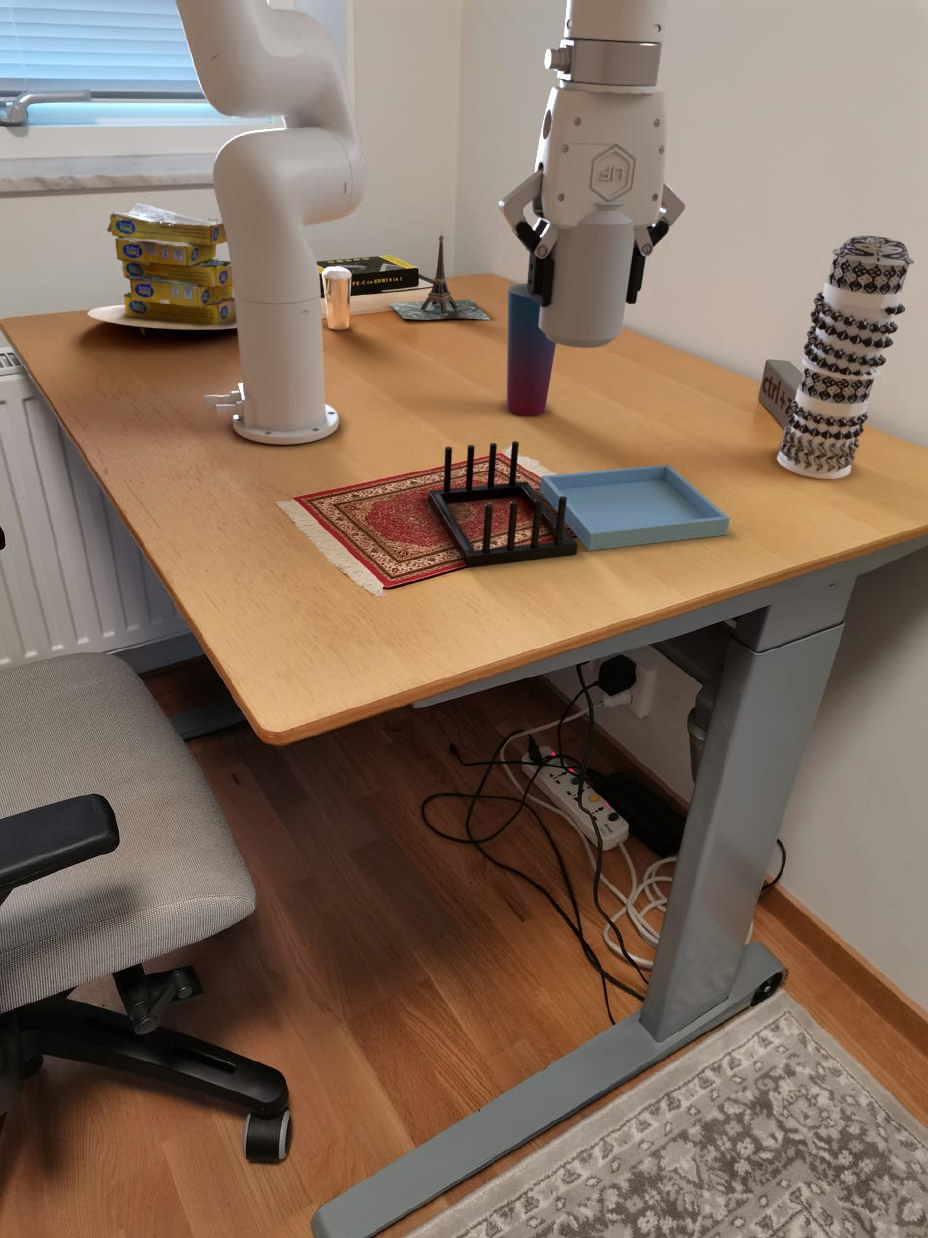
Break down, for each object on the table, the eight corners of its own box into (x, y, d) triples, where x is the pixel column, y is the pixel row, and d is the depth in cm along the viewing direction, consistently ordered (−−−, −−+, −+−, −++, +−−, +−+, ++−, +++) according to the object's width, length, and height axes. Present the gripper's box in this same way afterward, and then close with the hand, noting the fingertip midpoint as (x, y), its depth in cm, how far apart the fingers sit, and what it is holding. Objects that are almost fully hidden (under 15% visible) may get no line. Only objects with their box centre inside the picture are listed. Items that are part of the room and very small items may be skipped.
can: (633, 337, 83) (655, 194, 76) (597, 356, 78) (616, 204, 71) (561, 320, 86) (576, 182, 79) (521, 338, 81) (533, 192, 74)
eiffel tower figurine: (472, 302, 160) (476, 221, 152) (490, 319, 152) (495, 234, 144) (389, 305, 156) (389, 222, 148) (403, 322, 148) (404, 235, 140)
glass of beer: (356, 332, 142) (354, 265, 137) (322, 330, 142) (319, 263, 137) (359, 323, 146) (358, 258, 140) (326, 322, 146) (323, 256, 140)
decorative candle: (829, 447, 112) (892, 231, 98) (869, 479, 104) (943, 250, 90) (760, 448, 110) (814, 230, 96) (796, 481, 103) (860, 249, 89)
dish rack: (467, 567, 84) (470, 509, 80) (427, 500, 95) (429, 447, 91) (576, 554, 87) (584, 498, 83) (526, 491, 98) (531, 439, 94)
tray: (588, 551, 87) (591, 533, 86) (539, 491, 98) (541, 475, 97) (726, 534, 91) (730, 518, 90) (665, 479, 102) (668, 464, 101)
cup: (548, 421, 115) (561, 299, 106) (495, 414, 116) (504, 294, 107) (554, 402, 120) (567, 286, 112) (504, 397, 121) (513, 280, 113)
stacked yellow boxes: (153, 299, 152) (138, 190, 143) (287, 318, 147) (279, 206, 137) (56, 339, 133) (31, 216, 123) (205, 363, 127) (190, 236, 118)
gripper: (519, 67, 65) (503, 316, 75) (733, 75, 70) (691, 309, 79) (488, 61, 71) (476, 293, 81) (687, 69, 75) (653, 288, 85)
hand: (583, 300), depth 80 cm, fingers closed on can, 7 cm apart
